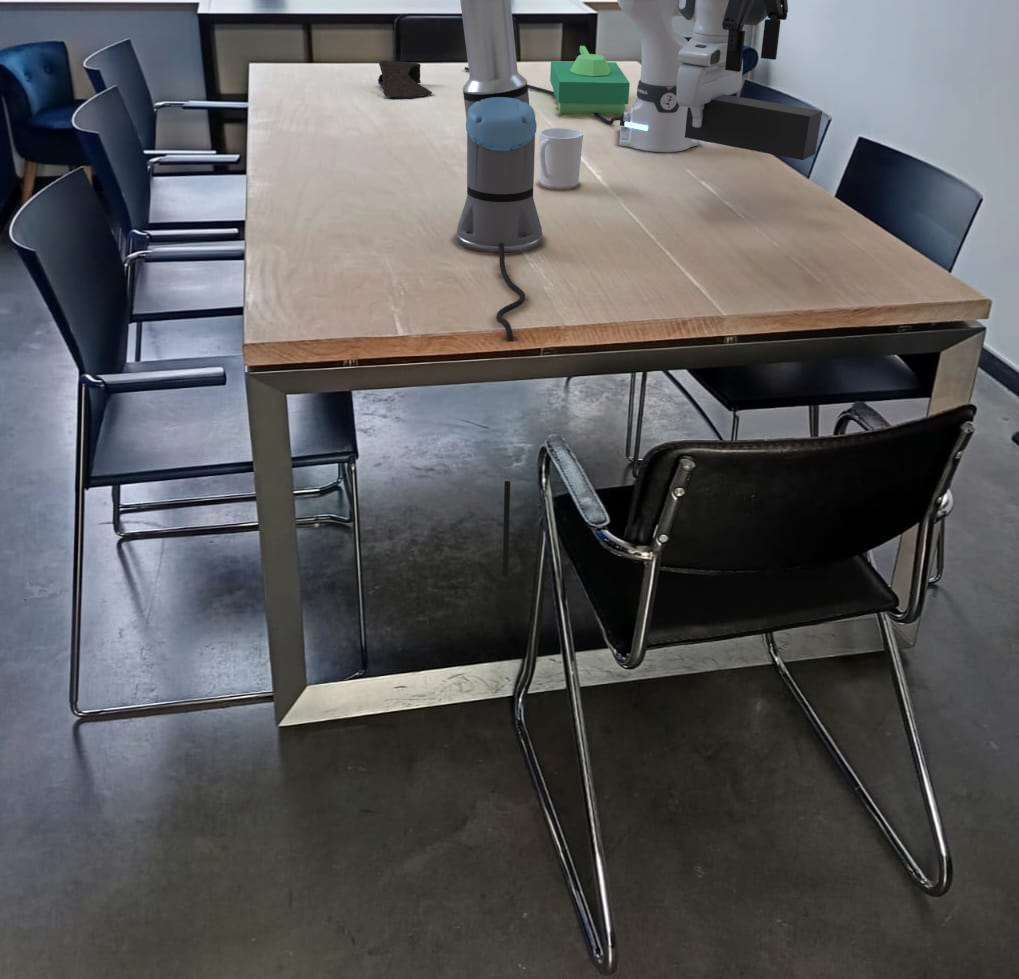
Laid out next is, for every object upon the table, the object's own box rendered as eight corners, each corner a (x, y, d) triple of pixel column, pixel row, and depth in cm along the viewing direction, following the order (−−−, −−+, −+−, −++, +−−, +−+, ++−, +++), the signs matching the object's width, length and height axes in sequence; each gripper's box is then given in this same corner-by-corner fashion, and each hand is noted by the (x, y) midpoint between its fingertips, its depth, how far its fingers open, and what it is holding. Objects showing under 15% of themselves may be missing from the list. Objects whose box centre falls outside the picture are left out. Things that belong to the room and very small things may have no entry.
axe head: (443, 87, 294) (392, 77, 287) (436, 115, 299) (385, 106, 292) (421, 62, 307) (371, 52, 300) (414, 89, 311) (365, 80, 304)
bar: (815, 154, 207) (822, 110, 202) (802, 160, 203) (809, 116, 199) (698, 132, 219) (702, 90, 215) (684, 137, 215) (688, 95, 211)
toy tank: (613, 42, 301) (631, 67, 272) (609, 89, 308) (626, 118, 278) (549, 41, 300) (560, 66, 271) (547, 88, 307) (557, 117, 277)
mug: (554, 175, 232) (556, 125, 226) (589, 183, 227) (592, 132, 222) (522, 186, 224) (523, 135, 219) (557, 195, 220) (559, 142, 214)
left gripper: (777, -76, 193) (763, 51, 204) (709, -65, 176) (697, 73, 187) (817, -74, 189) (801, 56, 200) (751, -63, 172) (737, 78, 184)
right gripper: (725, 39, 216) (717, 111, 223) (673, 53, 202) (666, 130, 209) (754, 43, 213) (745, 116, 220) (704, 58, 199) (695, 135, 206)
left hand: (751, 64), depth 194 cm, fingers open, 13 cm apart
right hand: (706, 123), depth 214 cm, fingers closed on bar, 5 cm apart
